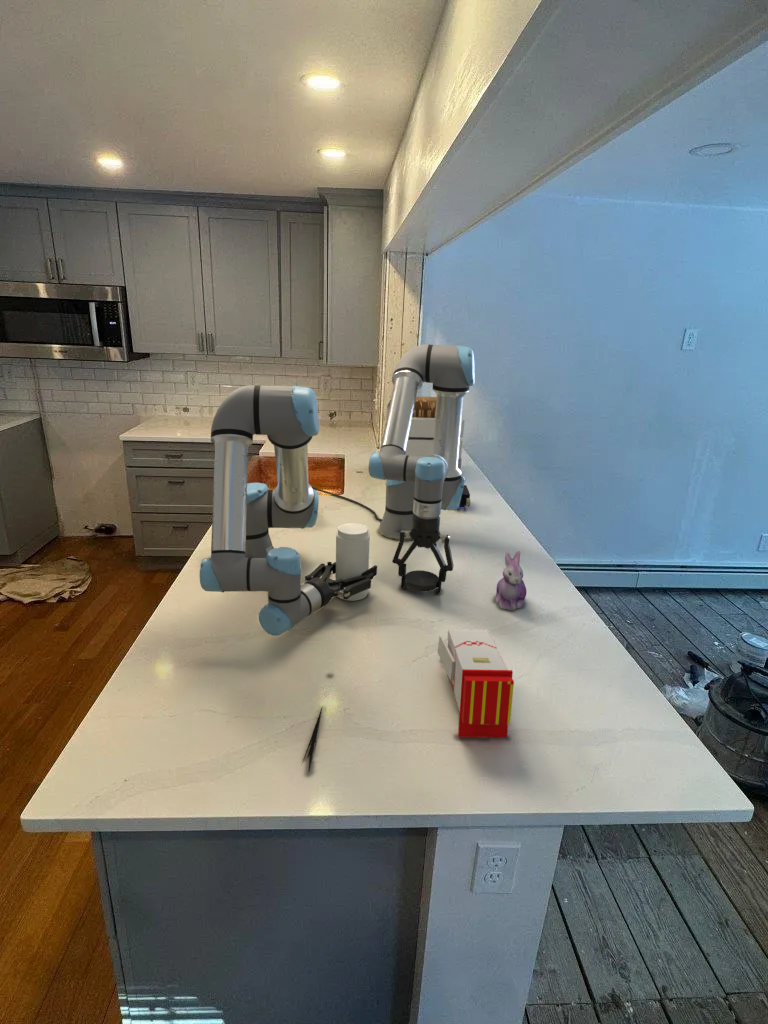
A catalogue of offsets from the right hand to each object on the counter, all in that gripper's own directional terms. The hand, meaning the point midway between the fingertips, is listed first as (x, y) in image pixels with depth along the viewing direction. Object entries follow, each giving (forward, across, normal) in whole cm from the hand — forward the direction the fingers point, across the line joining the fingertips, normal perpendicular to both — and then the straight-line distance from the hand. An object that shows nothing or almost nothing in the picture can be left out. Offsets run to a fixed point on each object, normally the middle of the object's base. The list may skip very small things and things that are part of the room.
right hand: (420, 588), depth 161 cm
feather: (+1, -10, -59) cm, 60 cm away
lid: (-3, 0, 0) cm, 3 cm away
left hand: (-6, -17, -4) cm, 18 cm away
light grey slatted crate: (-1, -19, +120) cm, 121 cm away
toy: (0, +17, -43) cm, 46 cm away
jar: (0, -18, -8) cm, 20 cm away
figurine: (0, +25, -1) cm, 25 cm away
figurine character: (0, +4, +76) cm, 76 cm away
